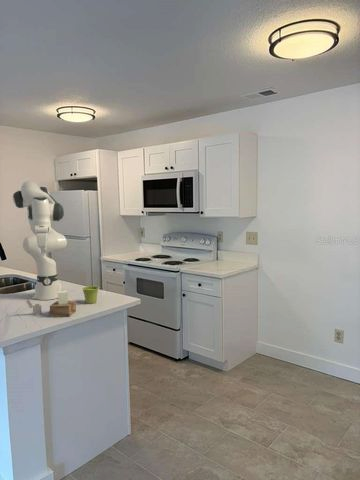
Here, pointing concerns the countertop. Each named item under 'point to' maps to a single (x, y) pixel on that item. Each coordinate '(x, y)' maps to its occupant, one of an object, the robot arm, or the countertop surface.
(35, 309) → the lighter
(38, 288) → the robot arm
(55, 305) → the walnut block
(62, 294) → the sage block
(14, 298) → the countertop surface
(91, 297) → the plant pot
